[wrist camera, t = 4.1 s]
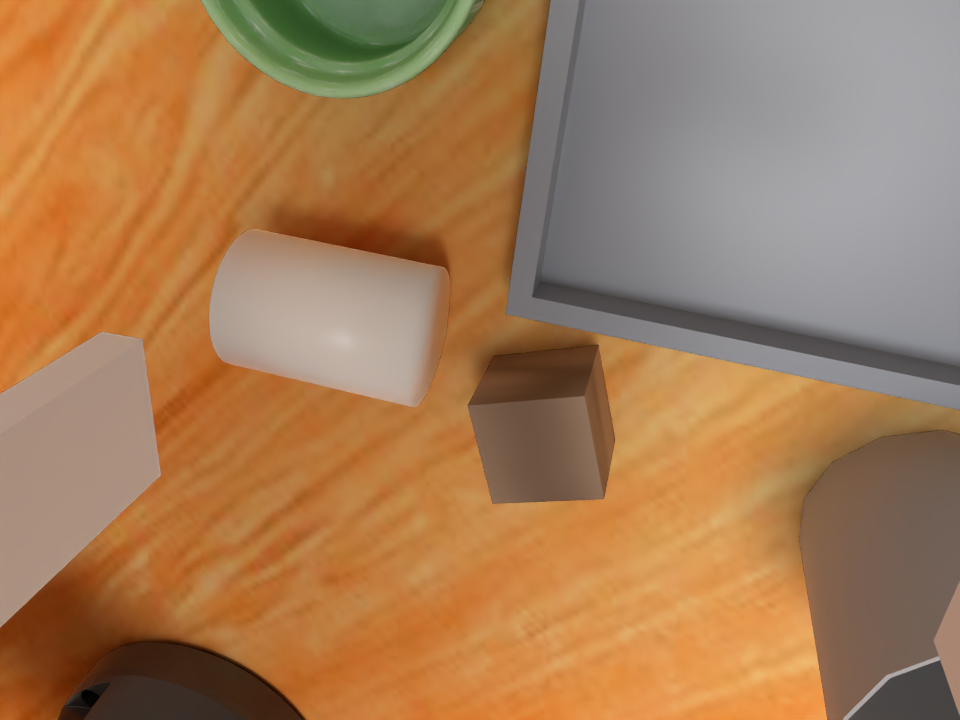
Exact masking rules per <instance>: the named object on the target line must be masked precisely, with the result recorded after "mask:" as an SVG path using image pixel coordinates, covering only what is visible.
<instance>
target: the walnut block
mask: <svg viewBox="0 0 960 720" xmlns="http://www.w3.org/2000/svg"><path fill="white" fill-rule="evenodd" d="M468 409H469V413H470V417H471V421H472V424H473V428H474V432H475V436H476V440H477V444H478V448H479V452H480V456H481V460H482V464H483V468H484V472H485V476H486V479H487V483H488V487H489V491H490V495H491V499H492V503H493V504H497V503H522V502H546V501H571V500H595V499H604V497H605V491H606V486H607V481H608V475H609V470H610V465H611V459H612V454H613V449H614V443H615V436H614V430H613V424H612V419H611V413H610V407H609V402H608V396H607V390H606V385H605V379H604V373H603V368H602V362H601V356H600V351H599V345H596V346H587V347H577V348H567V349H557V350H547V351H537V352H527V353H517V354H507V355H497V356H494V357H493V359H492V361H491V363H490V365H489V366H488V368H487V370H486V372H485V374H484V376H483V378H482V380H481V382H480V383H479V385H478V387H477V389H476V391H475V393H474V395H473V397H472V398H471V400H470V402H469V404H468Z"/></svg>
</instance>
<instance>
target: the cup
mask: <svg viewBox="0 0 960 720" xmlns="http://www.w3.org/2000/svg"><path fill="white" fill-rule="evenodd" d="M799 544H800V550H801V556H802V562H803V569H804V575H805V581H806V588H807V594H808V600H809V606H810V613H811V619H812V625H813V632H814V638H815V644H816V651H817V657H818V663H819V669H820V676H821V682H822V688H823V695H824V701H825V707H826V713H827V720H960V716H959V713H958V710H957V707H956V704H955V701H954V698H953V695H952V692H951V690H950V687H949V684H948V681H947V678H946V675H945V672H944V669H943V666H942V664H941V661H940V658H939V655H938V652H937V649H936V646H935V643H934V638H935V636H936V634H937V631H938V629H939V627H940V625H941V622H942V620H943V618H944V616H945V613H946V611H947V609H948V606H949V604H950V602H951V600H952V597H953V595H954V593H955V591H956V588H957V586H958V584H959V581H960V434H957V433H953V432H949V431H945V430H936V431H928V432H919V433H910V434H902V435H893V436H884V437H880V438H878V439H876V440H875V441H873V442H871V443H869V444H867V445H865V446H863V447H861V448H859V449H857V450H855V451H853V452H851V453H849V454H847V455H845V456H843V457H841V458H839V459H838V460H836V461H834V462H832V464H831V465H830V466H829V467H828V469H827V470H826V471H825V472H824V474H823V475H822V476H821V478H820V479H819V480H818V481H817V483H816V484H815V485H814V486H813V488H812V489H811V490H810V492H809V493H808V494H807V495H806V497H805V498H804V502H803V510H802V518H801V526H800V534H799Z"/></svg>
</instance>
